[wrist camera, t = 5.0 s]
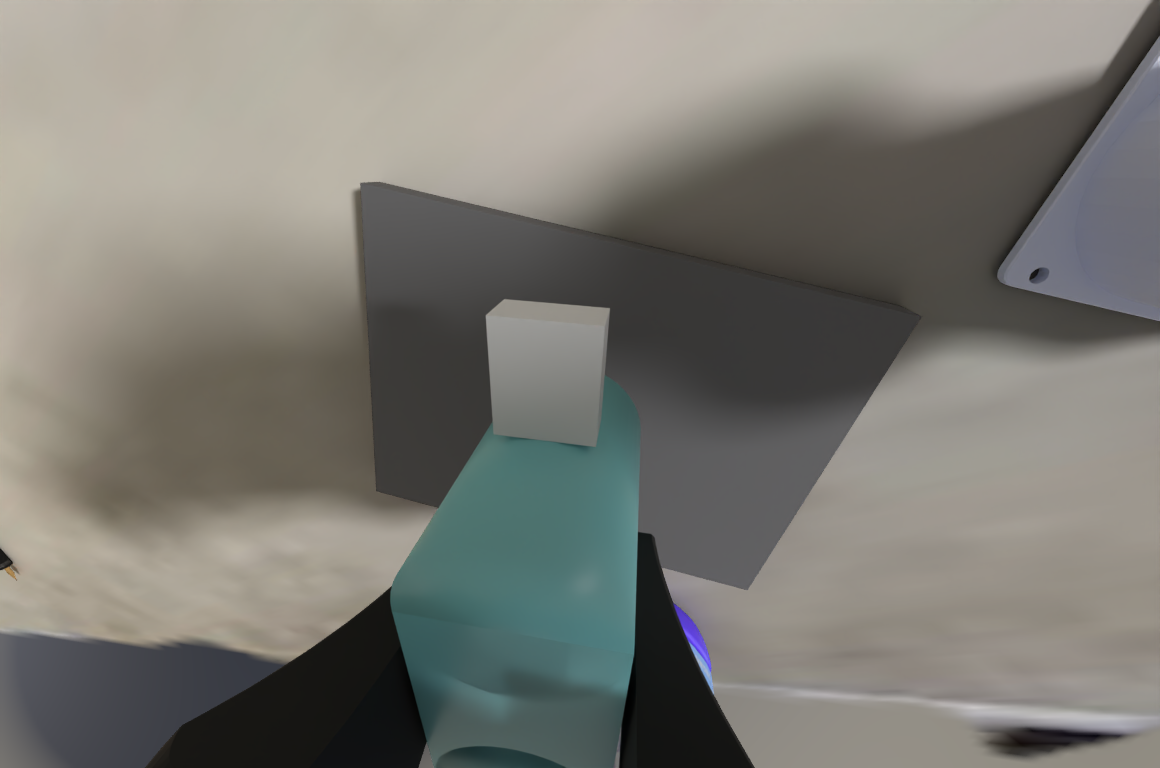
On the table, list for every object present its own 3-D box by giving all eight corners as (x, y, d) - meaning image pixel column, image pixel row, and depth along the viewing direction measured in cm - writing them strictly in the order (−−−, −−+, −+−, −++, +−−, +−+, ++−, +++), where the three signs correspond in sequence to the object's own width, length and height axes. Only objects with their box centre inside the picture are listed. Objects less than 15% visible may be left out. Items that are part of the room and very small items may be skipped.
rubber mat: (902, 306, 15) (921, 316, 14) (742, 570, 22) (747, 590, 21) (379, 182, 16) (360, 182, 15) (389, 476, 23) (376, 491, 22)
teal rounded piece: (661, 281, 10) (677, 412, 4) (616, 612, 15) (599, 843, 10) (496, 267, 10) (328, 373, 5) (512, 595, 16) (444, 807, 11)
